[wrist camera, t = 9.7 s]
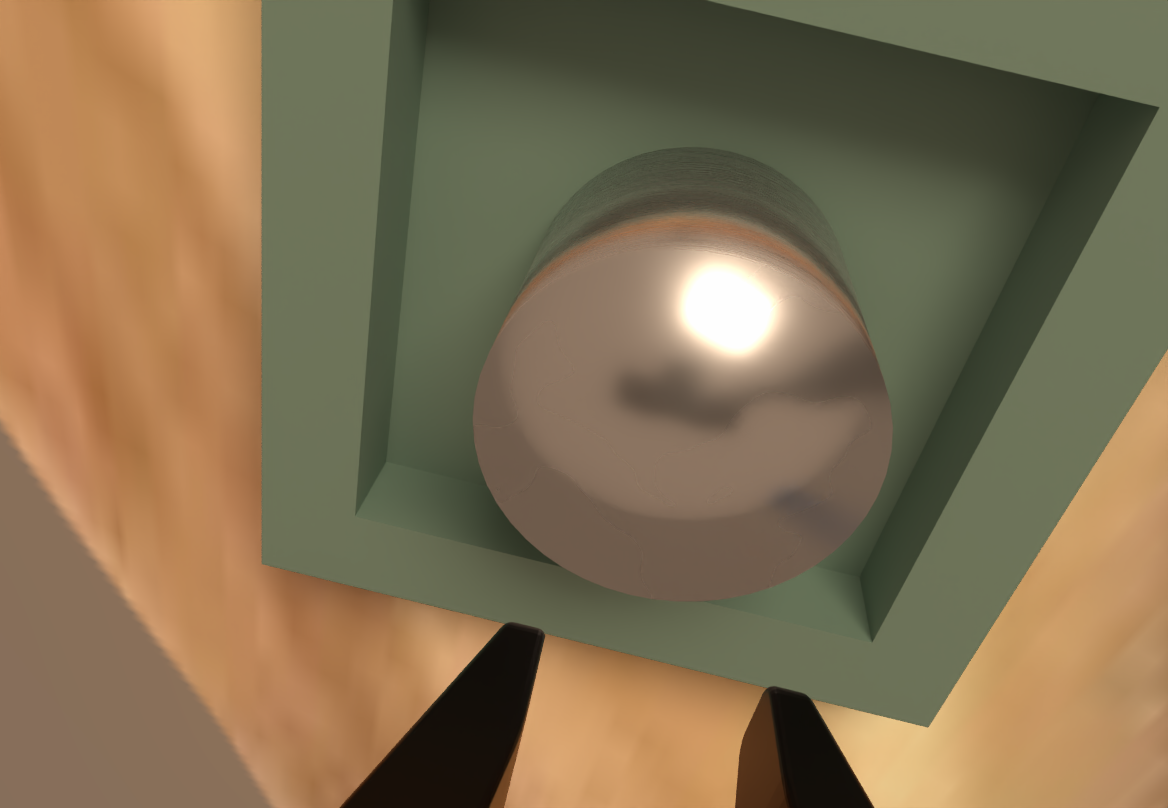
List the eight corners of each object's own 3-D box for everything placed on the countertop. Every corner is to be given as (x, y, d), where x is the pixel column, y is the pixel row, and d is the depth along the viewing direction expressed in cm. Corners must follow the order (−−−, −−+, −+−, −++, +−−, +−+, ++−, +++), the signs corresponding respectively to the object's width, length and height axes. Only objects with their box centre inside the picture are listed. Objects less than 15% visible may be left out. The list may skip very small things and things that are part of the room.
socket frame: (1288, -33, 14) (1397, -14, 11) (907, 639, 21) (928, 727, 19) (336, -255, 14) (262, -280, 11) (309, 493, 22) (261, 564, 19)
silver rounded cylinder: (898, 192, 15) (966, 312, 11) (787, 463, 19) (808, 638, 14) (564, 110, 15) (506, 200, 11) (510, 395, 19) (449, 550, 14)
